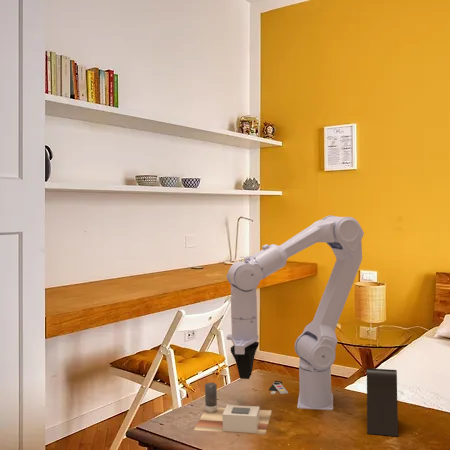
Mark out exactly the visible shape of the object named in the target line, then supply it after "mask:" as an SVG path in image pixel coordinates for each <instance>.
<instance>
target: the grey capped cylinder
mask: <svg viewBox="0 0 450 450" xmlns="http://www.w3.org/2000/svg"><path fill="white" fill-rule="evenodd" d="M217 392H218V391H217V383H215V382H207V383H205V384H204V393H205V394H204V397H205V398H204V401H205V402H204V403H205V404H204V405H205V407H204V408H205V410H204V411H206V412H207V413H215V412H217V408H218V400H217V399H218V396H217Z"/></svg>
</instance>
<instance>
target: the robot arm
mask: <svg viewBox="0 0 450 450" xmlns="http://www.w3.org/2000/svg"><path fill="white" fill-rule="evenodd" d="M364 236H365V232H364V231H363V228H362V227H361V224H360V223H359V221H358V220H357V219H356V218H354V217H352V216H336V215H327V216H325V217H323V218H322V219H319V220H316V221H314V222H313V223H312V224H311V225H309V226H307V227H306V228H304V229H303V230H301V231H300V232H297V234H295V235H293V236H292V237H291V238H289V239H287V240H286V241H285V242H283V243H282V244H280V245H278V244H274V243H272V244H270V245H269V244H267V243H266V244H264V245H262V246H261V250H259V251H257V252H256V253H254V254H252V255H251V256H249V255H246V256H245V257H243V258H244V261H236V262H234V263H232V265H230V267H229V268H228V271H227V274H226V280H227V281H228V283H229V284H230V314H231V315H230V317H231V319H230V320H231V334H227V335H226V340H228V341H231V342H232V344H233V345H232V346H231V347H230V353H231V355H232V357H233V358H234V361H235V364H236V367H237V371H238V375H239V376H238V377H239V379H241V380H250V378H251V376H252V372H253V368H254V361H255V355H256V353H257V350H258V347H259V344H260V343H259V341H258V340H259V335H258V306H257V305H258V300H257V287H258V286H259V284H260V282H261V280H264V279H266V278H268V277H269V276H270V275H272V274H274V273H275V272H278V271H279V270H281V269H282V268H284V267H286V265H287V261H288V259H289V258H290V257H292V256H295V255H296V254H298V253H300V252H302V251H303V250H306V249H307V248H309V247H312V246H313V245H315V244H316V243H317V244H318V243H326V244H327V245H328V246H329V248H331V250H332V252H333V254H334V256H335V258H336V261H335V262H334V265H333V268H332V270H331V273H330V275H329V279H328V281H327V284H326V286H325V288H324V291H323V293H322V296H321V299H320V301H319V304H318V307H317V309H316V312H315V314H314V317H313V320H312V321H311V322H310V323H308V324H307V325H305V327H304V329H303V331H302V333H301V334H300V335H299V336H298V337H297V338H296V340H295V342H294V351H295V353H296V355H297V357H299V363H298V365H299V366H298V371H299V373H298V376H299V377H298V379H299V381H298V382H299V383H298V384H299V392H298V393H299V394H298V399H297V405H296V407H297V409H299V410H301V409H303V410H321V411H323V410H324V411H333V410H334V394H333V393H332V376H331V375H332V371H331V370H332V368H331V367H332V365H334V363H335V360H336V347H337V345H338V338H337V334H336V328H337V326H338V323H339V320H340V318H341V315H342V312H343V310H344V308H345V304H346V303H347V300H348V297H349V295H350V292H351V289H352V286H353V285H354V281H355V280H356V276H357V274H358V271H359V269H360V265H361V263H362V260H363V247H362V241H363V240H362V239H363V237H364Z"/></svg>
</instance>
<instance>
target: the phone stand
mask: <svg viewBox="0 0 450 450" xmlns="http://www.w3.org/2000/svg"><path fill="white" fill-rule="evenodd" d="M398 412H399V411H398V371H397V369H389V368H388V369H386V368H385V369H383V368H370V367H369V368H368V367H366V426H367V427H366V433H367V435H377V436H388V437H389V436H390V437H399V417H398V416H399V415H398Z"/></svg>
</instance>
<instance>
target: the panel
mask: <svg viewBox="0 0 450 450" xmlns="http://www.w3.org/2000/svg"><path fill="white" fill-rule="evenodd" d="M225 408H226V407H217V412H215V413H207V412H206V411H205V410H204V411H203V412H202V414H201V416H200V418H199V420H198V421H197V422H196V425H195V427H194V429H193V431H200V432H201V431H202V432H203V431H204V432H218V433H219V432H221V433H234V434H235V433H236V434H251V435H266V433H267V430H268V427H269V422H270V420H271V415H272V412H273V410H271V409H269V410H268V409H259V410H260V424H259V427H258V430H257V433H247V432H231V431H223V416H222V414H223V412H224V410H225Z"/></svg>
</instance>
